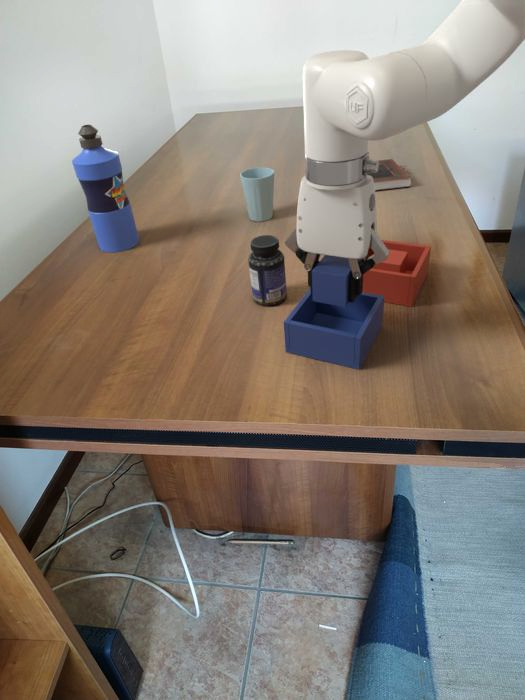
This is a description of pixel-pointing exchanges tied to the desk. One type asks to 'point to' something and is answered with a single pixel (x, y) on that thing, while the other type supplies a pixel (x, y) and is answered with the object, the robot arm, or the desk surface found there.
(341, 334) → the blue bin
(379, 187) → the hardcover book
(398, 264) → the red block
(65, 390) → the desk surface
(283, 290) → the pill bottle
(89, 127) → the water bottle
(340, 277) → the blue block
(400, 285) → the red bin
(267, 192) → the cup
